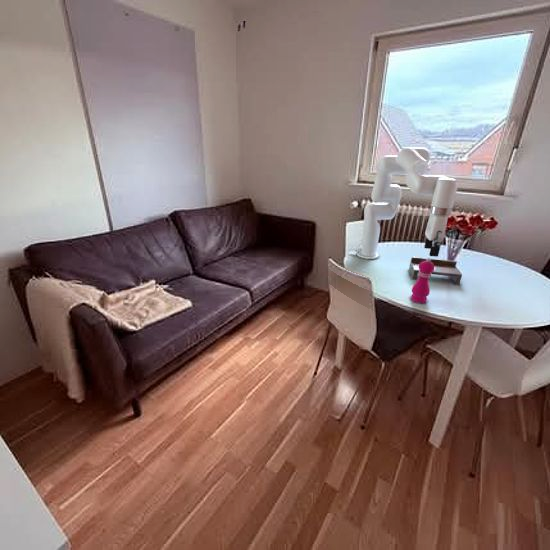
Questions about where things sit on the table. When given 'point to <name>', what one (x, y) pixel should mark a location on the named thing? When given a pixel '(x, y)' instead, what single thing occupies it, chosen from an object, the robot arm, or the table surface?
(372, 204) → the robot arm
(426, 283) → the pepper mill
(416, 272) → the shelf
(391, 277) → the table surface
